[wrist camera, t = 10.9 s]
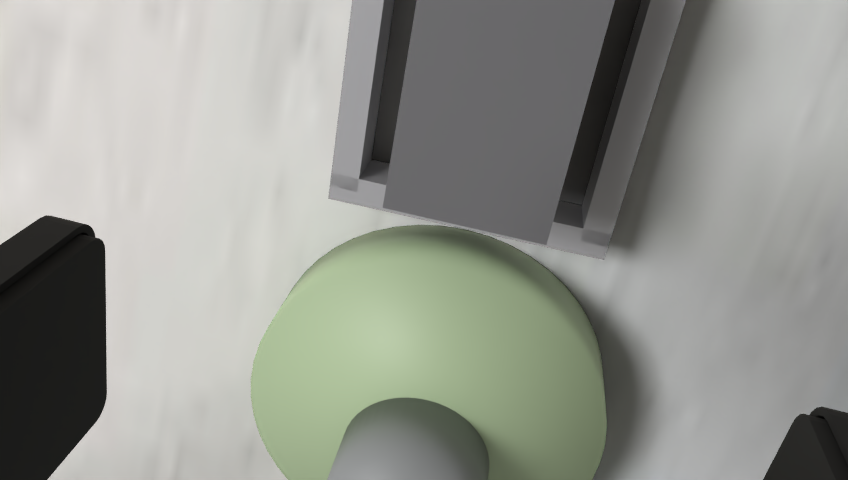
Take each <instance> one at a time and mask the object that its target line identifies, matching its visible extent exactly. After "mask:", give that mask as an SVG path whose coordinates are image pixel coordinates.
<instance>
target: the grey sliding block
mask: <svg viewBox="0 0 848 480" xmlns="http://www.w3.org/2000/svg"><path fill="white" fill-rule="evenodd" d="M614 2H615V0H417V1H416V7H415V13H414V19H413V25H412V31H411V37H410V43H409V50H408V56H407V62H406V68H405V74H404V80H403V86H402V92H401V98H400V104H399V111H398V117H397V123H396V129H395V135H394V141H393V147H392V153H391V159H390V166H389V172H388V178H387V184H386V190H385V196H384V202H383V208H386V209H390V210H394V211H399V212H403V213H407V214H412V215H416V216H421V217H425V218H429V219H434V220H438V221H443V222H447V223H451V224H456V225H460V226H464V227H469V228H473V229H478V230H482V231H486V232H491V233H495V234H500V235H504V236H508V237H513V238H517V239H521V240H526V241H530V242H535V243H539V244H543V245H547V241H548V238H549V234H550V231H551V227H552V224H553V220H554V216H555V213H556V209H557V206H558V202H559V199H560V195H561V191H562V188H563V184H564V181H565V177H566V174H567V170H568V166H569V163H570V159H571V156H572V152H573V149H574V145H575V141H576V138H577V134H578V131H579V127H580V124H581V120H582V116H583V113H584V109H585V106H586V102H587V99H588V95H589V91H590V88H591V84H592V81H593V77H594V74H595V70H596V66H597V63H598V59H599V56H600V52H601V49H602V45H603V41H604V38H605V34H606V31H607V27H608V24H609V20H610V16H611V13H612V9H613V6H614Z"/></svg>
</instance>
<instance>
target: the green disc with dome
mask: <svg viewBox="0 0 848 480" xmlns="http://www.w3.org/2000/svg"><path fill="white" fill-rule="evenodd" d="M685 2H686V0H641V3H640V7H639V10H638V14H637V17H636V21H635V24H634V27H633V31H632V34H631V38H630V41H629V45H628V48H627V52H626V55H625V58H624V62H623V65H622V69H621V72H620V76H619V79H618V83H617V86H616V90H615V93H614V96H613V100H612V103H611V107H610V110H609V114H608V117H607V121H606V124H605V128H604V131H603V134H602V138H601V141H600V145H599V148H598V152H597V155H596V159H595V162H594V166H593V169H592V172H591V176H590V179H589V183H588V186H587V190H586V193H585V197H584V200H583V204H582V205H577V204H572V203H568V202H563V201H559V202H558V206H557V209H556V213H555V216H554V220H553V224H552V227H551V231H550V234H549V238H548V241H547V245H543V244H539V243H535V242H530V241H526V240H521V239H517V238H513V237H508V236H504V235H500V234H495V233H491V232H486V231H482V230H478V229H473V228H469V227H464V226H460V225H456V224H451V223H447V222H443V221H438V220H434V219H429V218H425V217H421V216H416V215H412V214H407V213H403V212H399V211H394V210H390V209H386V208H383V202H384V196H385V190H386V184H387V178H388V172H389V166H390V164H389V163H384V162H380V161H375V160H371V158H372V151H373V144H374V137H375V131H376V124H377V117H378V110H379V103H380V96H381V89H382V82H383V76H384V69H385V62H386V55H387V48H388V41H389V34H390V28H391V21H392V14H393V7H394V0H352V8H351V16H350V24H349V33H348V41H347V49H346V57H345V66H344V74H343V82H342V90H341V99H340V107H339V115H338V123H337V132H336V140H335V148H334V157H333V165H332V173H331V181H330V190H329V198H328V199H333V200H337V201H342V202H346V203H351V204H355V205H360V206H364V207H369V208H373V209H378V210H382V211H387V212H391V213H396V214H400V215H405V216H409V217H414V218H418V219H423V220H427V221H432V222H436V223H441V224H445V225H450V226H454V227H459V228H463V229H458V228H451V227H445V226H431V225H412V226H400V227H392V228H387V229H383V230H378V231H373V232H370V233H368V234H365V235H362V236H359V237H356V238H353V239H351V240H349V241H347V242H345V243H343V244H341V245H339V246H337V247H336V248H334V249H332V250H331V251H330V252H328V253H327V254H325V255H324V256H323V257H321V258H320V259H318V260H317V261H316V262H315V263H314V264H313V265H312V266H311V267H310V268H309V269H308V270H307V271H306V272H305V273H304V274H303V275H302V277H301V278H300V279H299V280H298V282H297V283H296V284H295V286H294V287H293V289H292V290H291V292H290V293H289V295H288V297H287V298H286V300H285V301H284V303H283V304H282V306H281V308H280V309H279V311H278V312H277V314H276V316H275V317H274V319H273V320H272V322H271V324H270V325H269V327H268V329H267V331H266V333H265V334H264V336H263V338H262V340H261V342H260V344H259V347H258V350H257V353H256V356H255V359H254V363H253V370H252V376H251V400H252V407H253V413H254V417H255V421H256V424H257V427H258V430H259V434H260V436H261V438H262V440H263V442H264V444H265V446H266V449H267V451H268V452H269V454H270V455H271V457H272V459H273V460H274V462H275V463H276V465H277V467H278V468H279V469H280V470H281V472H282V473H283V474H284V475H285V477H286V478H287V479H288V480H592V479H593V477H594V475H595V473H596V471H597V468H598V466H599V464H600V462H601V458H602V454H603V450H604V447H605V441H606V430H607V418H606V405H605V393H604V380H603V368H602V358H601V354H600V349H599V345H598V341H597V338H596V336H595V333H594V331H593V328H592V326H591V323H590V321H589V319H588V318H587V316H586V314H585V313H584V311H583V309H582V307H581V306H580V304H579V303H578V301H577V300H576V299H575V298H574V296H573V295H572V294H571V293H570V291H569V290H568V289H567V288H566V286H565V285H564V284H563V283H562V282H561V281H559V280H558V279H557V278H556V277H555V276H554V275H553V274H552V273H551V272H550V271H549V270H548V269H546V268H545V267H544V266H542V265H541V264H540V263H538V262H537V261H536V260H534V259H533V258H531V257H530V256H528V255H526V254H525V253H523V252H521V251H519V250H518V249H516V248H514V247H512V246H510V245H508V244H506V243H503V242H501V241H498V240H496V239H494V238H491V237H489V236H486V235H482V234H479V233H475V232H472V231H477V232H481V233H486V234H490V235H495V236H499V237H504V238H508V239H513V240H517V241H522V242H526V243H531V244H535V245H540V246H544V247H549V248H553V249H558V250H562V251H567V252H571V253H576V254H580V255H585V256H589V257H594V258H598V259H603V260H604V259H605V255H606V252H607V249H608V246H609V243H610V240H611V236H612V233H613V230H614V227H615V224H616V221H617V217H618V214H619V211H620V208H621V205H622V202H623V198H624V195H625V192H626V189H627V186H628V183H629V179H630V176H631V173H632V170H633V167H634V164H635V160H636V157H637V154H638V151H639V148H640V145H641V141H642V138H643V135H644V132H645V129H646V125H647V122H648V119H649V116H650V113H651V110H652V106H653V103H654V100H655V97H656V94H657V91H658V87H659V84H660V81H661V78H662V75H663V72H664V68H665V65H666V62H667V59H668V56H669V53H670V49H671V46H672V43H673V40H674V37H675V34H676V30H677V27H678V24H679V21H680V18H681V15H682V11H683V8H684V5H685ZM464 229H468V230H472V231H468V230H464Z"/></svg>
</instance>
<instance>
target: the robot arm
mask: <svg viewBox="0 0 848 480" xmlns="http://www.w3.org/2000/svg"><path fill="white" fill-rule="evenodd" d="M106 394H107V380H106V288H105V246H104V243H103V241H102V240H100V239H98V238H95V233H94V231H93V229H92V228H91V227H90V226H89V225H86V224H82V223H78V222H74V221H70V220H66V219H62V218H58V217H53V216H44V217H42V218H40V219H38V220H37V221H35V222H34V223H32V224H31V225H29V226H28V227H26V228H25V229H23V230H22V231H20V232H19V233H17V234H16V235H14V236H13V237H11V238H10V239H8V240H7V241H5V242H4V243H2V244H1V245H0V480H47V479H48V478H49V477H50V476H51V474H52V473H53V472H54V471H55V470H56V468H57V467H58V466H59V465H60V464H61V463H62V461H63V460H64V459H65V458H66V457H67V455H68V454H69V453H70V452H71V451H72V450H73V448H74V447H75V446H76V445H77V444H78V442H79V441H80V440H81V439H82V438H83V437H84V435H85V434H86V433H87V432H88V431H89V429H90V428H91V427H92V426H93V425H94V424H95V422H96V421H97V420H98V418H99V417H100V415H101V413H102V411H103V408H104V405H105V401H106ZM763 480H848V413H845V412H841V411H837V410H833V409H829V408H825V407H819V408H816V409H815V410H814V411H812V412H811V414H810V415H806V414H800V415H799V416H798V417H796V419H795V420H794V422H793V423H792V425H791V427H790V429H789V431H788V433H787V435H786V437H785V439H784V441H783V442H782V444H781V446H780V448H779V450H778V452H777V454H776V456H775V458H774V460H773V462H772V464H771V465H770V467H769V469H768V471H767V473H766V475H765V477H764V479H763Z"/></svg>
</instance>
